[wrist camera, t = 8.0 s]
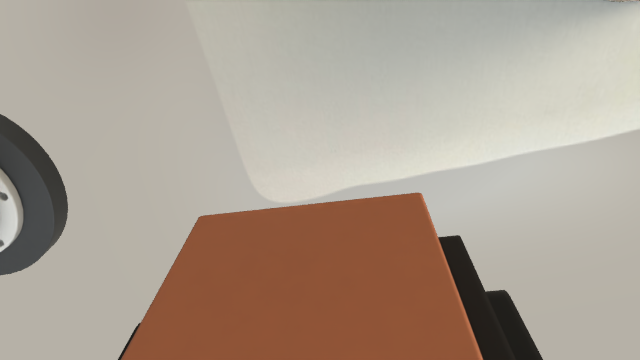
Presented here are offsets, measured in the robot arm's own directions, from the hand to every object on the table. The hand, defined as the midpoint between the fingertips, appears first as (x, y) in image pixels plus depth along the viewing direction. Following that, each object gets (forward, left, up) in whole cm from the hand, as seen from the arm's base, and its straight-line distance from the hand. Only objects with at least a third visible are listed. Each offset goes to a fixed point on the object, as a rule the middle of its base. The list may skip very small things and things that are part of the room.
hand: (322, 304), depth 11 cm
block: (0, 0, 0) cm, 0 cm away
